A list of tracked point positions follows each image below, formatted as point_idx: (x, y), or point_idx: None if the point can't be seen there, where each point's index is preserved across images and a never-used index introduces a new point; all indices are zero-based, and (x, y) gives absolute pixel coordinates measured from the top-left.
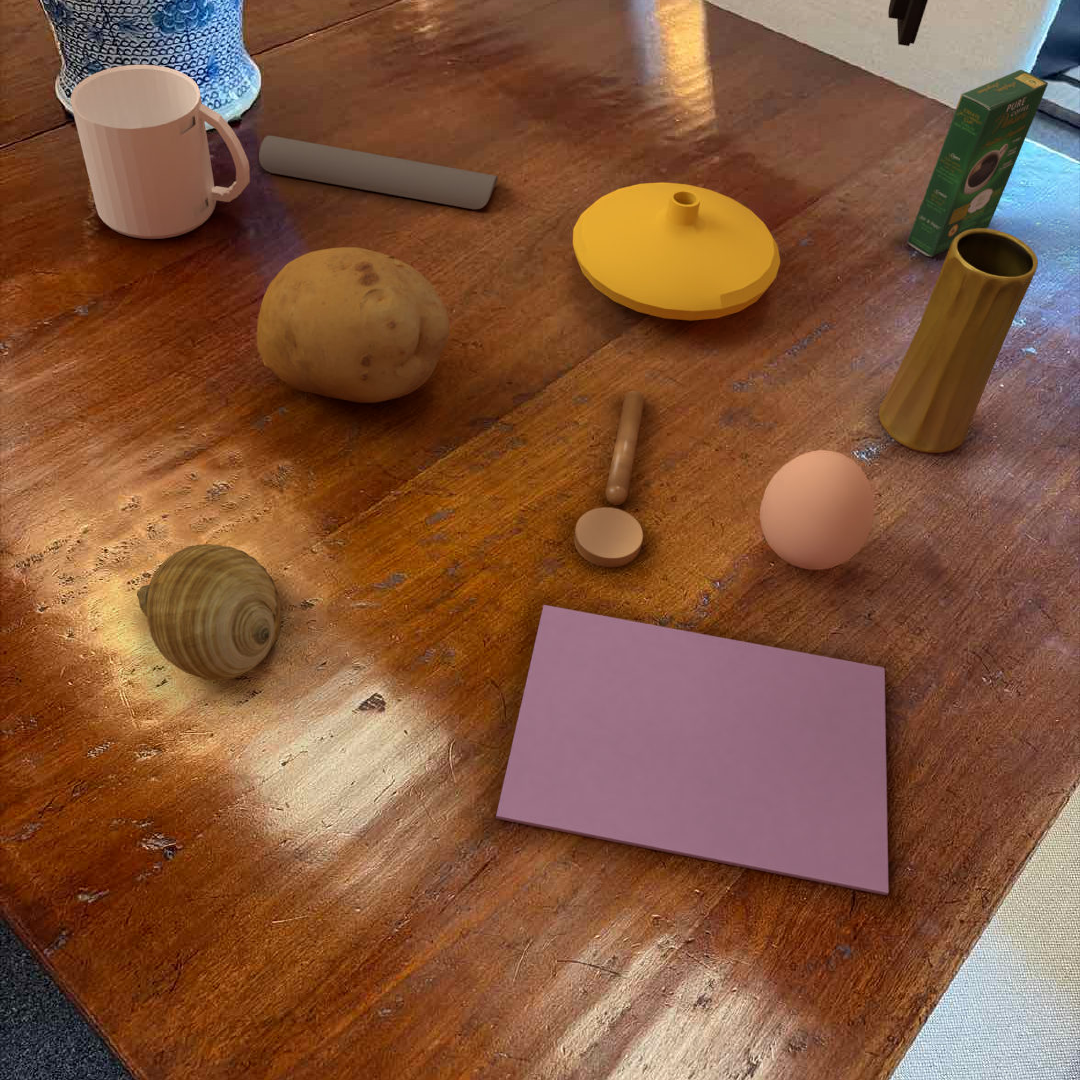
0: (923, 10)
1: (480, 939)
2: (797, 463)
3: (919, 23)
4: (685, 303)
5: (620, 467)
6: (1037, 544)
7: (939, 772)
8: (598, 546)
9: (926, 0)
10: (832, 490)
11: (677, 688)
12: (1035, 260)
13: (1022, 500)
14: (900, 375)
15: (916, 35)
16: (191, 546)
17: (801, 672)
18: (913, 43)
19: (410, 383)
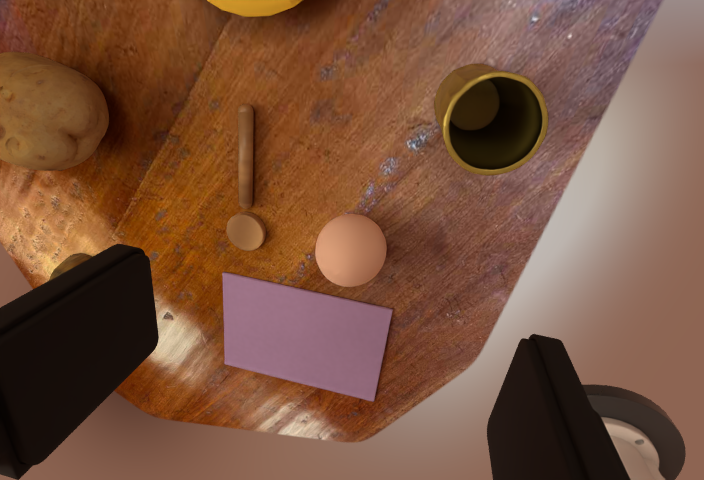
0: (109, 390)
1: (230, 397)
2: (322, 257)
3: (128, 375)
4: (259, 10)
5: (242, 187)
6: (521, 223)
7: (409, 357)
8: (240, 243)
9: (92, 408)
10: (341, 283)
11: (289, 317)
12: (542, 136)
13: (528, 182)
14: (438, 107)
15: (146, 357)
16: (52, 278)
17: (348, 311)
18: (156, 343)
19: (94, 148)
